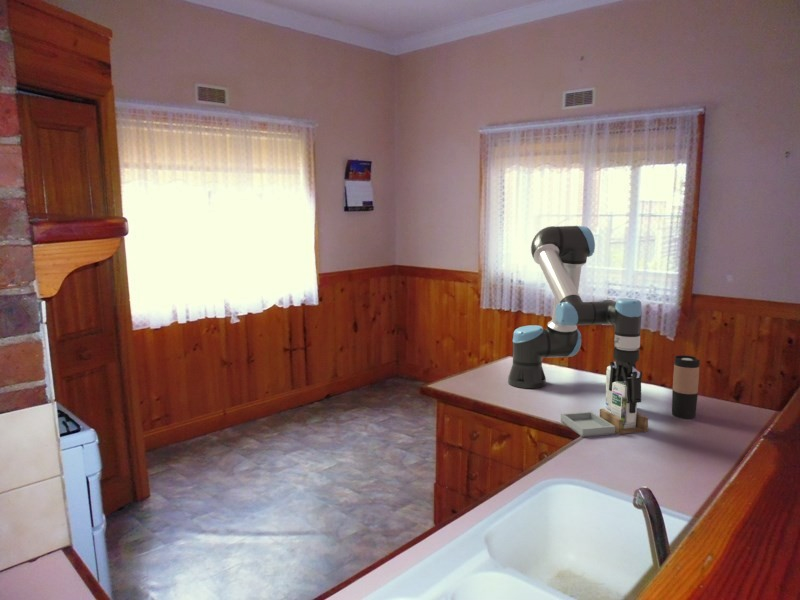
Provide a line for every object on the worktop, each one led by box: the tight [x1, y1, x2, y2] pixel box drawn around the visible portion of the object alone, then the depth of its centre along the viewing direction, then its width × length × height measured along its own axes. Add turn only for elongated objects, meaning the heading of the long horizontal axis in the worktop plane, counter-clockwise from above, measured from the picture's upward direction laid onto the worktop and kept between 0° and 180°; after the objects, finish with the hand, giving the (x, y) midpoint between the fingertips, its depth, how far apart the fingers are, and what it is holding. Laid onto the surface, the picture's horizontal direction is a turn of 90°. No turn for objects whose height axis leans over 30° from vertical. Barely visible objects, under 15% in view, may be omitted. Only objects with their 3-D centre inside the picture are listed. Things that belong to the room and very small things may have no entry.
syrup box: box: [610, 381, 638, 429], centre depth 177 cm, size 6×6×14 cm
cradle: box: [599, 408, 649, 435], centre depth 178 cm, size 11×10×4 cm
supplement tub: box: [605, 365, 632, 411], centre depth 195 cm, size 10×10×15 cm
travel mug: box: [671, 354, 701, 420], centre depth 187 cm, size 8×8×20 cm
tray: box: [560, 411, 616, 438], centre depth 178 cm, size 14×11×2 cm
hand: (623, 417), depth 178 cm, fingers closed on syrup box, 6 cm apart
